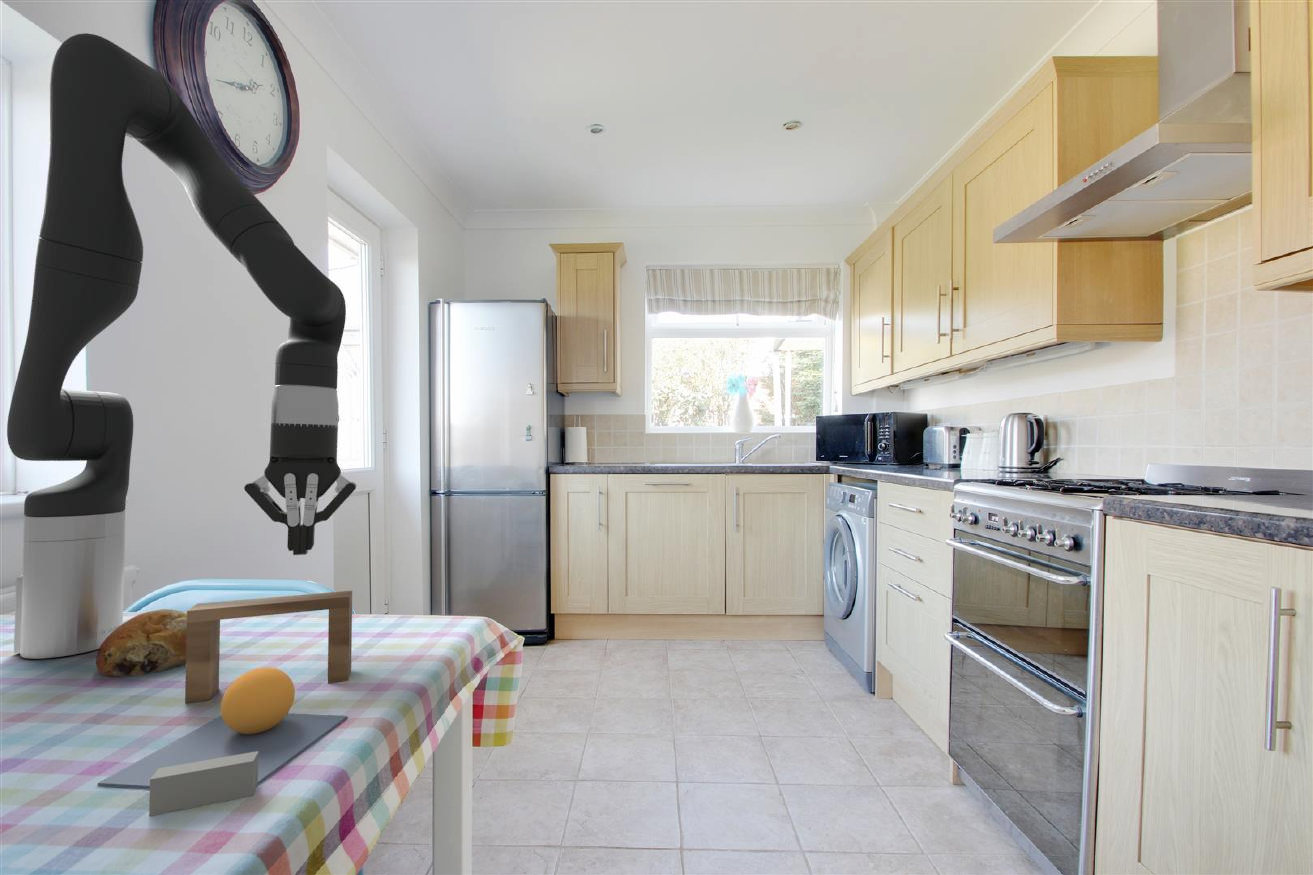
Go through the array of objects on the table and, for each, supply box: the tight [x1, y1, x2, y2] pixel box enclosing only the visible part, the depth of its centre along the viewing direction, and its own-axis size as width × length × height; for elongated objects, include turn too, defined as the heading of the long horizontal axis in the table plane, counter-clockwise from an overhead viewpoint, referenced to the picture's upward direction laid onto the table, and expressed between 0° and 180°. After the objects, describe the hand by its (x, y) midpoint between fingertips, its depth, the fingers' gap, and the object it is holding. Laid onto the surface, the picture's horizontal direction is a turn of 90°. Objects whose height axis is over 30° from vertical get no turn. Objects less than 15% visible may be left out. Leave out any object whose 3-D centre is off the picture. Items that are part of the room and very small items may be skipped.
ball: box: [220, 666, 296, 734], centre depth 52 cm, size 6×6×6 cm
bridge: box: [184, 590, 353, 704], centre depth 61 cm, size 3×14×9 cm, turn 113°
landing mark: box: [97, 712, 348, 790], centre depth 48 cm, size 12×12×1 cm
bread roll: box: [95, 608, 187, 677], centre depth 69 cm, size 10×10×8 cm
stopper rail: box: [148, 751, 259, 817], centre depth 41 cm, size 2×6×2 cm, turn 113°
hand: (300, 553), depth 75 cm, fingers closed
